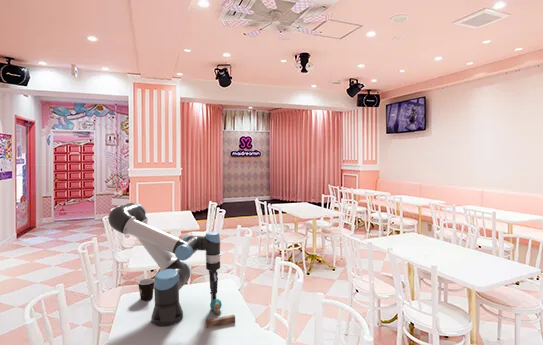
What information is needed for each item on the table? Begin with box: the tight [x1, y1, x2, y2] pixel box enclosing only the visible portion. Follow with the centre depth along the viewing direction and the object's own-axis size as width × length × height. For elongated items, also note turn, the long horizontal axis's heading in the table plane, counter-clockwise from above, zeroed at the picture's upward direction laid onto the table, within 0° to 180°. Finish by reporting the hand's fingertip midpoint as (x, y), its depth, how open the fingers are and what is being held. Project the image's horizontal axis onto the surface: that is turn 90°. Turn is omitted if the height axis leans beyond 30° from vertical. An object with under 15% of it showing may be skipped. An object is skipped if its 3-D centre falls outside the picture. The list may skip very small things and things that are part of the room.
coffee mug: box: [137, 278, 154, 302], centre depth 181 cm, size 12×9×10 cm
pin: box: [213, 302, 220, 316], centre depth 163 cm, size 2×2×8 cm
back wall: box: [205, 314, 236, 329], centre depth 155 cm, size 14×2×3 cm, turn 111°
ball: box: [209, 298, 223, 312], centre depth 169 cm, size 6×6×6 cm
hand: (213, 303), depth 172 cm, fingers closed
